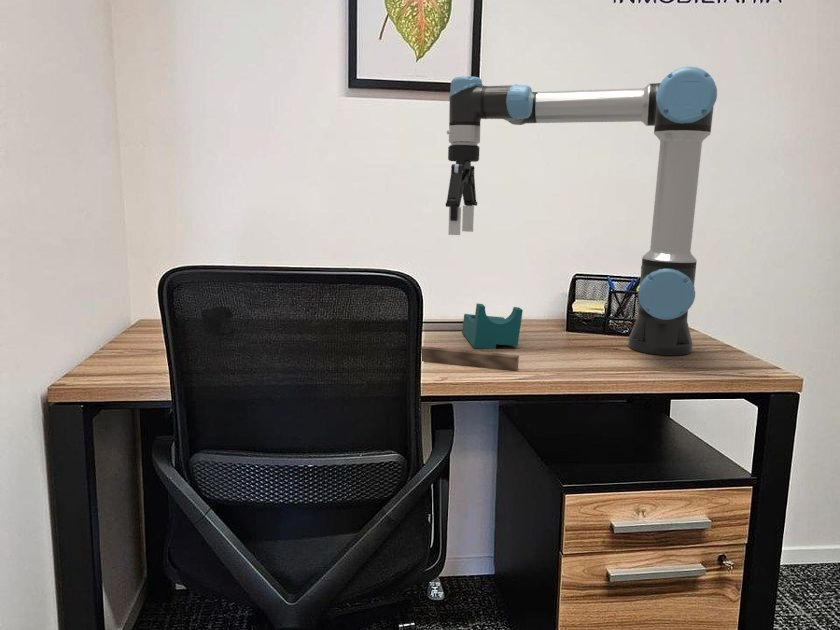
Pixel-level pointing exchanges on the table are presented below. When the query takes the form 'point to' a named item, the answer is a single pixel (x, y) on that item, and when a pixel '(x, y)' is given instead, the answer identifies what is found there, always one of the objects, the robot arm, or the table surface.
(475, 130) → the robot arm
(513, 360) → the walnut bar
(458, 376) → the table surface
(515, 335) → the teal notched cradle
